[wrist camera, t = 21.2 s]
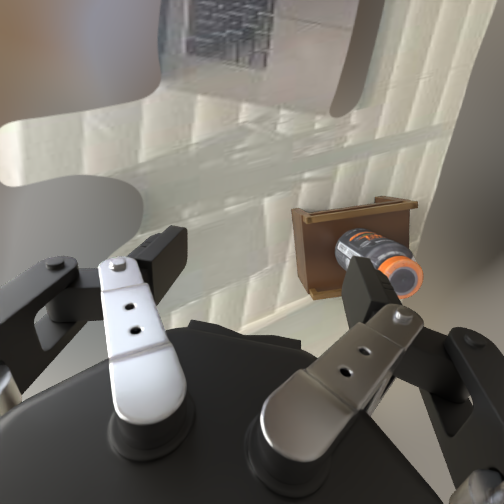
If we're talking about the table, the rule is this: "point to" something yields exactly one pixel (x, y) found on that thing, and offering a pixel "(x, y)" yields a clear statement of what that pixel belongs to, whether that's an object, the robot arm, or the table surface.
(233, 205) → the table surface
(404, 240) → the tray
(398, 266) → the pill bottle
